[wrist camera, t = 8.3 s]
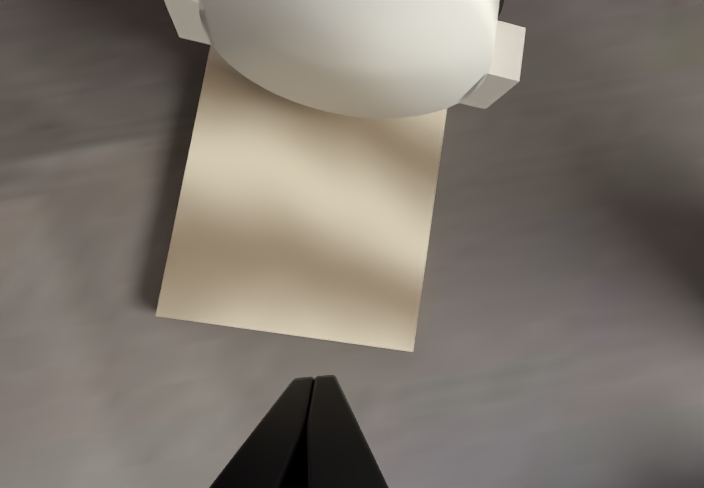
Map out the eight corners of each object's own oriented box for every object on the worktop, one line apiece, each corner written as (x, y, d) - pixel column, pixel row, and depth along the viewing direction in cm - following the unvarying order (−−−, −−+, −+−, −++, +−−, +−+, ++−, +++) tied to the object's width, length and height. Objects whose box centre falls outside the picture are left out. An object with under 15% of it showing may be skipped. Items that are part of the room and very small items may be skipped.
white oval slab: (449, 138, 17) (597, 17, 9) (198, 83, 15) (114, -119, 8) (454, 100, 17) (604, -53, 9) (207, 41, 16) (133, -198, 8)
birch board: (406, 347, 18) (422, 357, 16) (162, 313, 17) (145, 319, 15) (457, -18, 20) (479, -53, 18) (241, -78, 19) (236, -125, 17)
